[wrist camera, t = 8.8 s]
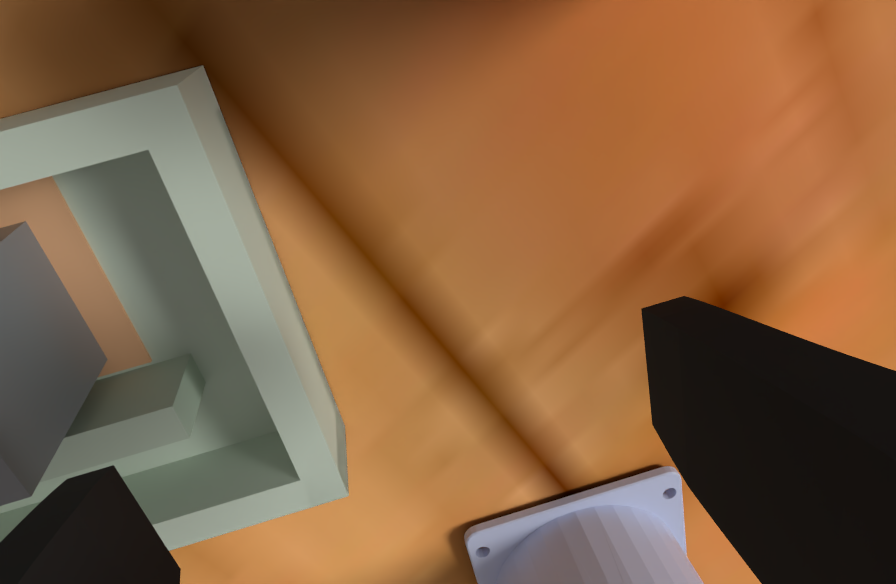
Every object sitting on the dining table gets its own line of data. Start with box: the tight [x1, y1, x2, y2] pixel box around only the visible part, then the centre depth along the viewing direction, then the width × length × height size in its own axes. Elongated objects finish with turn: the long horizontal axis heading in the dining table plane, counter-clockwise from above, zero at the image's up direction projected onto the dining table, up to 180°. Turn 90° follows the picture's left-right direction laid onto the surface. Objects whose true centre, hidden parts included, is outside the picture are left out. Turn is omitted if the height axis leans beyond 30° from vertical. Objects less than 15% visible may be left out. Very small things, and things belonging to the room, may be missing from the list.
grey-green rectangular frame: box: [0, 65, 349, 551], centre depth 16 cm, size 11×14×3 cm
